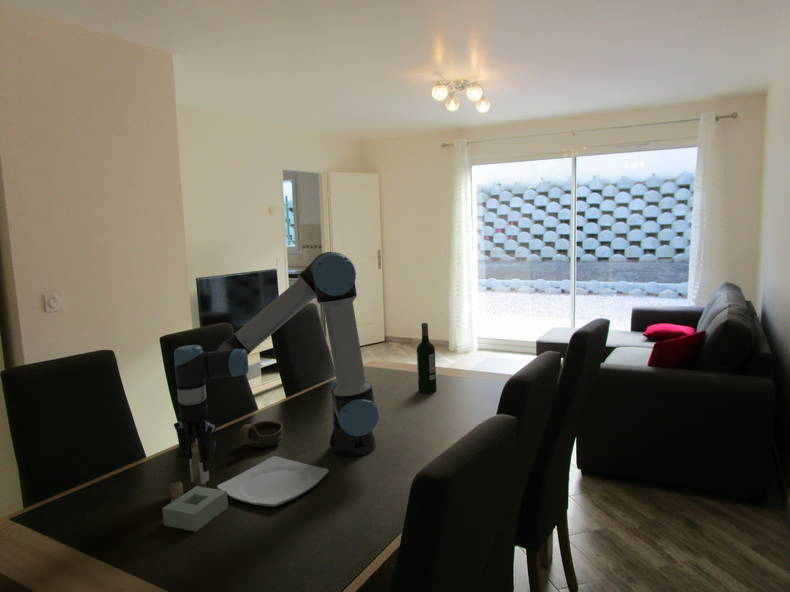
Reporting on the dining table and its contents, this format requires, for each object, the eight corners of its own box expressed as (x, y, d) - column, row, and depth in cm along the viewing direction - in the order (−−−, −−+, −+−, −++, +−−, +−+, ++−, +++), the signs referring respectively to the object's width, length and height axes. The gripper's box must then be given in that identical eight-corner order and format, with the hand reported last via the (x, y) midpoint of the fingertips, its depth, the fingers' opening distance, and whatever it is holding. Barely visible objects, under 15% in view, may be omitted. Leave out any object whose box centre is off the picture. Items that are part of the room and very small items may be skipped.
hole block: (228, 507, 140) (226, 490, 139) (195, 531, 129) (194, 514, 128) (198, 501, 144) (196, 486, 143) (164, 525, 133) (162, 508, 132)
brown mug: (293, 439, 185) (290, 411, 184) (260, 459, 169) (257, 429, 168) (261, 435, 191) (259, 408, 190) (227, 454, 175) (224, 425, 174)
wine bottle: (437, 393, 229) (434, 324, 226) (418, 393, 229) (415, 325, 226) (436, 387, 237) (433, 321, 234) (418, 388, 237) (415, 322, 234)
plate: (275, 517, 134) (274, 507, 134) (210, 496, 147) (210, 487, 147) (335, 477, 155) (335, 468, 155) (274, 461, 168) (273, 453, 168)
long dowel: (208, 485, 153) (204, 442, 151) (201, 490, 150) (197, 446, 149) (200, 484, 154) (196, 441, 152) (192, 489, 151) (188, 445, 150)
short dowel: (186, 503, 143) (184, 482, 142) (178, 509, 140) (176, 487, 140) (177, 501, 144) (175, 480, 144) (169, 507, 142) (167, 485, 141)
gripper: (224, 398, 150) (231, 478, 152) (180, 395, 155) (188, 471, 158) (206, 407, 143) (213, 490, 145) (160, 403, 148) (169, 483, 151)
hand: (200, 480), depth 152 cm, fingers closed on long dowel, 3 cm apart
